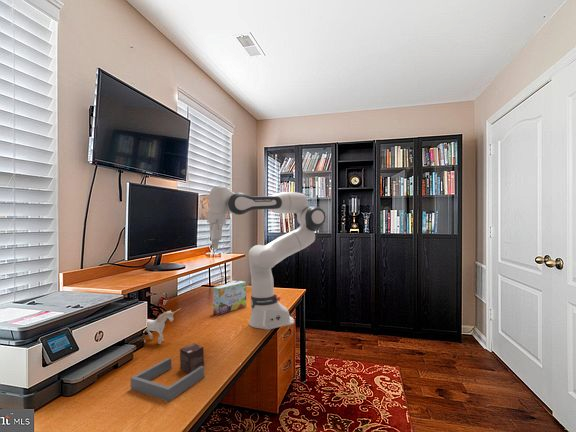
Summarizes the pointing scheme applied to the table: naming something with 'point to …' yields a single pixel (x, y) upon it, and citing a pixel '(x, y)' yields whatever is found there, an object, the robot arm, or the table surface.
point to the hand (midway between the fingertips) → (214, 248)
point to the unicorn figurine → (159, 324)
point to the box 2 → (191, 357)
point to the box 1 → (161, 391)
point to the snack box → (229, 297)
